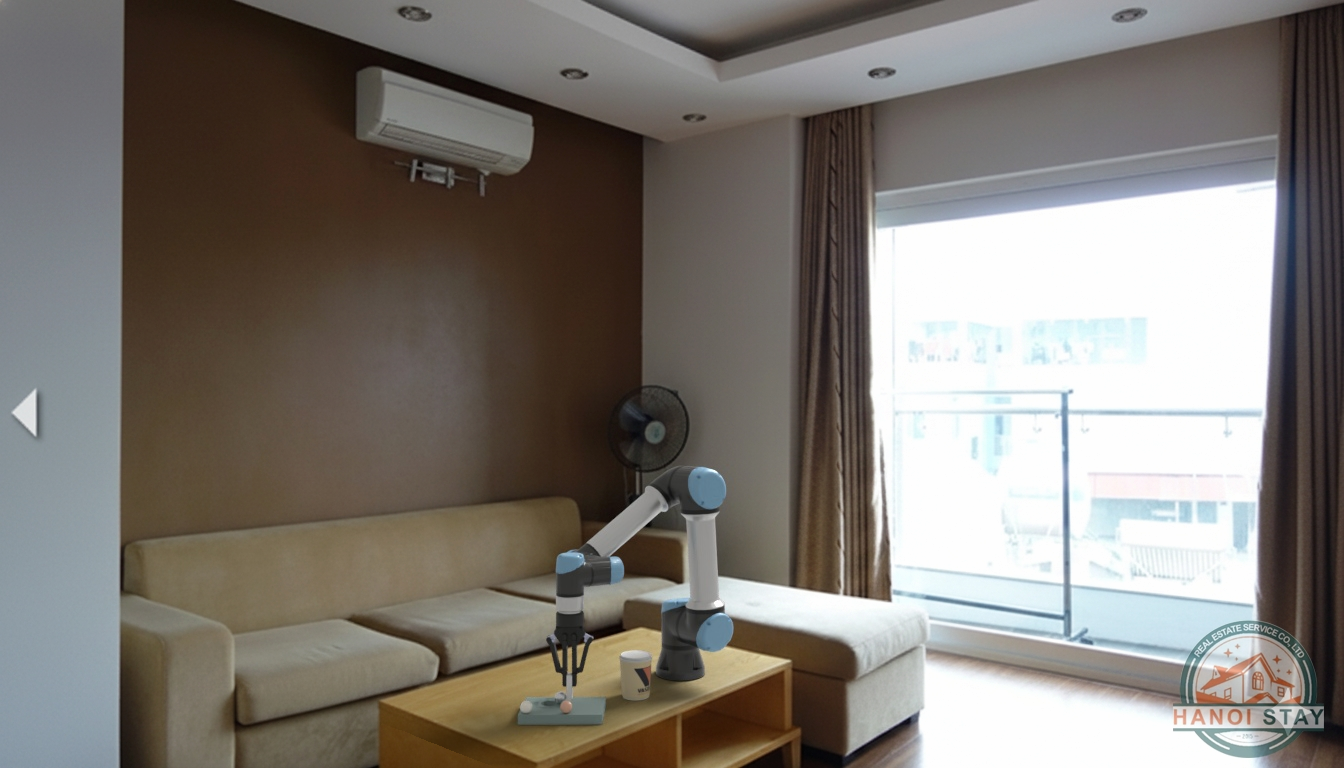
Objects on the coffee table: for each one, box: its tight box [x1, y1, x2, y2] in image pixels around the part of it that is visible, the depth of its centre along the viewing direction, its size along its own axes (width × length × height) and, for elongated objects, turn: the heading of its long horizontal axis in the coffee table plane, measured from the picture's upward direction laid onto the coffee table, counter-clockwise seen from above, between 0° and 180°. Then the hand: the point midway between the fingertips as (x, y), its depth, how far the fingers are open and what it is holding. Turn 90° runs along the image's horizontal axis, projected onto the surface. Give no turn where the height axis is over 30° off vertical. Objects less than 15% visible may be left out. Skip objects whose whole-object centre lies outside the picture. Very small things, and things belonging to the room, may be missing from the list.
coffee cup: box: [618, 649, 653, 701], centre depth 273 cm, size 9×9×12 cm
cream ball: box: [519, 700, 532, 713], centre depth 251 cm, size 3×3×3 cm
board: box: [517, 696, 607, 726], centre depth 257 cm, size 22×15×2 cm
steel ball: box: [554, 691, 566, 704], centre depth 258 cm, size 3×3×3 cm
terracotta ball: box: [560, 700, 572, 713], centre depth 251 cm, size 3×3×3 cm
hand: (569, 698), depth 258 cm, fingers closed
